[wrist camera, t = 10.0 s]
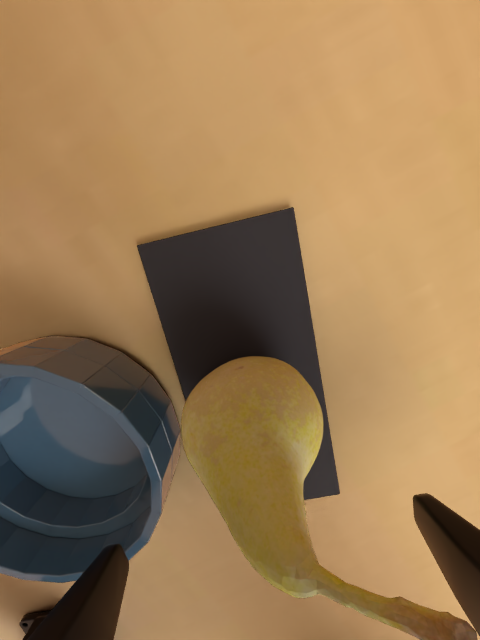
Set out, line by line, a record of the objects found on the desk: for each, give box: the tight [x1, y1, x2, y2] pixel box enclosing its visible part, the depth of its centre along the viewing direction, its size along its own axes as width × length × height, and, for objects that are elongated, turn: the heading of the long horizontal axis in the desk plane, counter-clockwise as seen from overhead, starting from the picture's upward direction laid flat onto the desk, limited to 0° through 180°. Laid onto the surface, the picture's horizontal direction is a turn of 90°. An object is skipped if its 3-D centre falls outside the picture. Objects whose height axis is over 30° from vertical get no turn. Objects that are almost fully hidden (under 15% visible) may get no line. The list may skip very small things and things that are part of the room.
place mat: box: [137, 207, 340, 500], centre depth 16 cm, size 20×9×1 cm, turn 13°
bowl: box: [0, 336, 181, 583], centre depth 15 cm, size 14×14×4 cm
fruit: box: [181, 356, 477, 640], centre depth 10 cm, size 7×8×12 cm
